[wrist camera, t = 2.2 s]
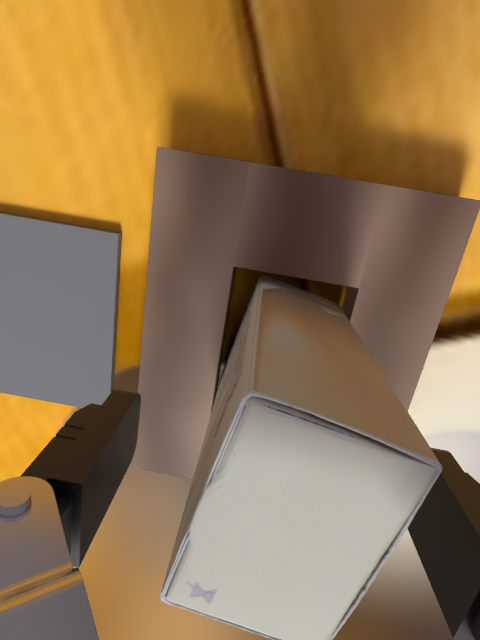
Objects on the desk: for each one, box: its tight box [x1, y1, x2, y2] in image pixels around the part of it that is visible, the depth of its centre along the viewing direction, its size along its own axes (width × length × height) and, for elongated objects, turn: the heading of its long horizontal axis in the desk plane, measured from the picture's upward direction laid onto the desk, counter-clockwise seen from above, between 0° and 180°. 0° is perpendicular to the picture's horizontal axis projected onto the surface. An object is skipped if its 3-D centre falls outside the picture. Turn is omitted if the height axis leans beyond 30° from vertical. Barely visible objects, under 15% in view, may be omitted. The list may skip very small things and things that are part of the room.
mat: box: [0, 212, 122, 408], centre depth 20 cm, size 9×10×1 cm
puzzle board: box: [132, 147, 480, 479], centre depth 19 cm, size 13×16×2 cm
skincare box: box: [160, 276, 442, 640], centre depth 14 cm, size 6×4×12 cm
